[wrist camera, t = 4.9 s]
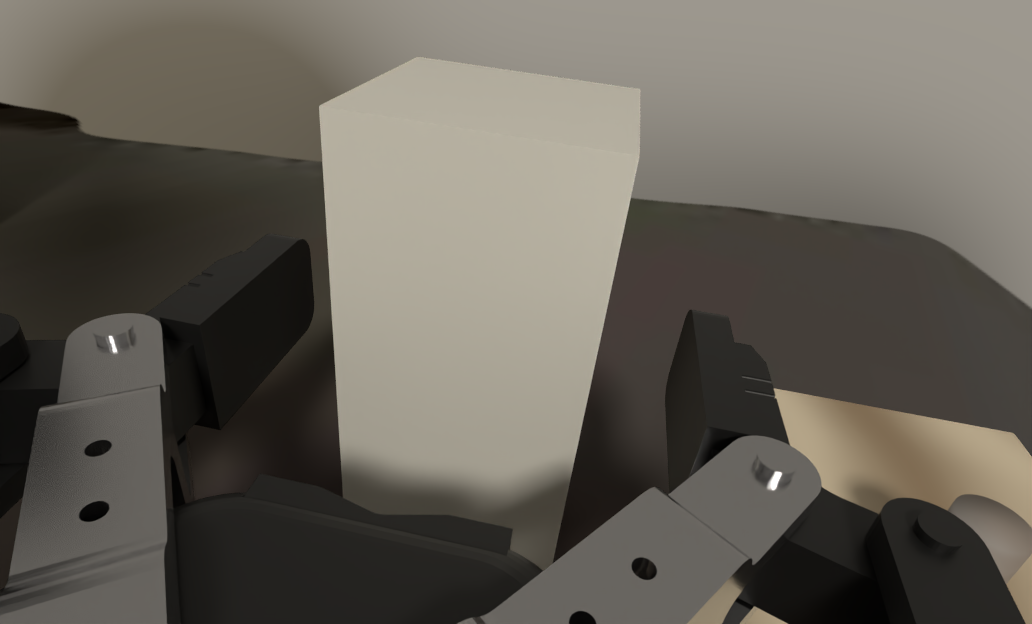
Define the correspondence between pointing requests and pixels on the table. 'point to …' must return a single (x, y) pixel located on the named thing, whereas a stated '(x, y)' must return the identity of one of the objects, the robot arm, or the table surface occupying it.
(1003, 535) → the pin dock
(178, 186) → the table surface
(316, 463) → the table surface
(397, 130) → the block
